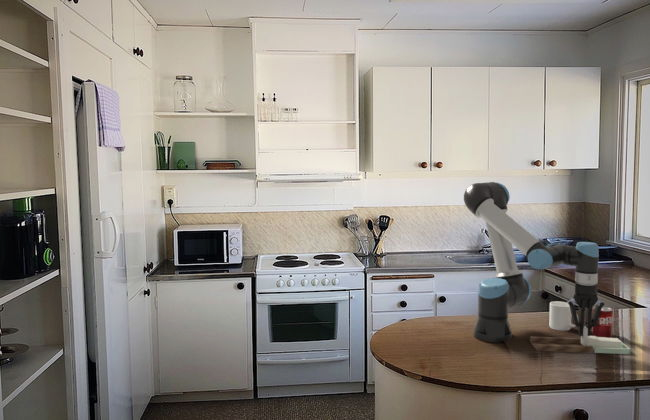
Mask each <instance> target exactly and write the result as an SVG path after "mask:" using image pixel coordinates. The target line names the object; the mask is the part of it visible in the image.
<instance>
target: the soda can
mask: <svg viewBox="0 0 650 420" xmlns="http://www.w3.org/2000/svg"><path fill="white" fill-rule="evenodd" d="M595 307H596V306H593V307H592V314H593V313H594V310H595ZM613 324H614V310H613V309H612V308H611V307H608V306H603V307H602V308H601V312H600V315H599V318H598V321H597V325H596V327H592V328H591V334H592V336H596V337H606V338H613V327H614V325H613Z"/></svg>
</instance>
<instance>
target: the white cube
mask: <svg viewBox="0 0 650 420" xmlns="http://www.w3.org/2000/svg"><path fill="white" fill-rule="evenodd" d="M596 337H597V336H596ZM597 338H598V339H599V348H610V340H609V339H607V338H606V337H597Z"/></svg>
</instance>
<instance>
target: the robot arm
mask: <svg viewBox="0 0 650 420" xmlns="http://www.w3.org/2000/svg"><path fill="white" fill-rule="evenodd" d="M463 201H464V205H465V206H466V207H467V209H468V210H469V211H470V212H471V213H472V214H473V215H474V216H476V218H481V219H483V220H484V221H485V222H484V223H485V226H486V229H487V235H488V238H489V244H490V247H491V252H492V257H493V261H494V266H495V269H496V274H495V275H494V277H492V278H485V279H483V280H481V281H480V283H479V285H478V291H477V293H478V295H477V297H478V298H477V299H478V305H477V307H478V311H477V312H478V313H477V314H478V315H477V319H476V322H475V325H474V327H473V337H474V338H476V339H478V340H480V341H484V342H489V343H505V341H508V340H510V339H512V337H513V332H512V329H511V325H510V322H509V309H510V308H513V307H517V306H518V307H519V306H521V305H523V304H524V303H526V302H528V300H529V299H530V298H531V296H532V286H531V283H530V281H529V280H527V279H526V278H525V276H524V274H523V272H522V271H521V270H519V268H518V265H517V262H516V256H515V253H514V247H515V249H517V250H519V252H520V253H522V254H523V255H525V257H526V258H527V261H528V264H529V266H530V267H531V268H532V269H534V270H547V269H549V268H552V267H557V266H561V265H566V266H572V267H575V276H574V282H575V284H574V295H573V298H571V299H567V300H566V303H568V304H569V306H570V310H571V320H572V322H573V323H572V324H575V325H576V327H578V336H579V337H580V338H581V344H582V345H587V339H588V336H591V330H592V327H596V325H597V321H598V318H599V315H600V312H601V308H602V307H605V302H603V301H602V300H599V297H598V282H599V281H598V279H599V271H598V270H599V258H600V257H599V256H600V255H599V252H600V251H599V244H597V243H596V242H591V241H579V242H577V243H576V246H573V245H565V244H559V243H547V244H546V245H544V244H543V243H542V242H541V241H539V240H538V239H537V238H536V237H535V236H533V235H532V234H531V233H530V232H529V231H527V230H526V229H525V228H524V227H523V226H522V225H520V224H519V223H518V222H517V221H515V220H514V219H513V218H512V217H510V216H509V215H508V213H507V211H508V206H507V205H508V204H509V201H510V192H509V190H508V188H507V187H506V186H505V185H504V184H502V183H500V182H495V181H489V182H477V183H476V182H475V183H473V184H471V185H469V186H468V187H467V188H466V189H465V191H464V193H463ZM576 304H577V306H578V313H577V311H576V310H577V309H576V307H575V305H576ZM594 307H595V310H594V313H593V308H594ZM576 313H577V314H576ZM577 315H578V318H577Z"/></svg>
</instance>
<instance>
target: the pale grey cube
mask: <svg viewBox="0 0 650 420" xmlns="http://www.w3.org/2000/svg"><path fill="white" fill-rule="evenodd" d="M583 346H592V347H593V351H594V347H598V348H599V339H598V338H597V336H594V335H590V336H588V339H587V345H583Z"/></svg>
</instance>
